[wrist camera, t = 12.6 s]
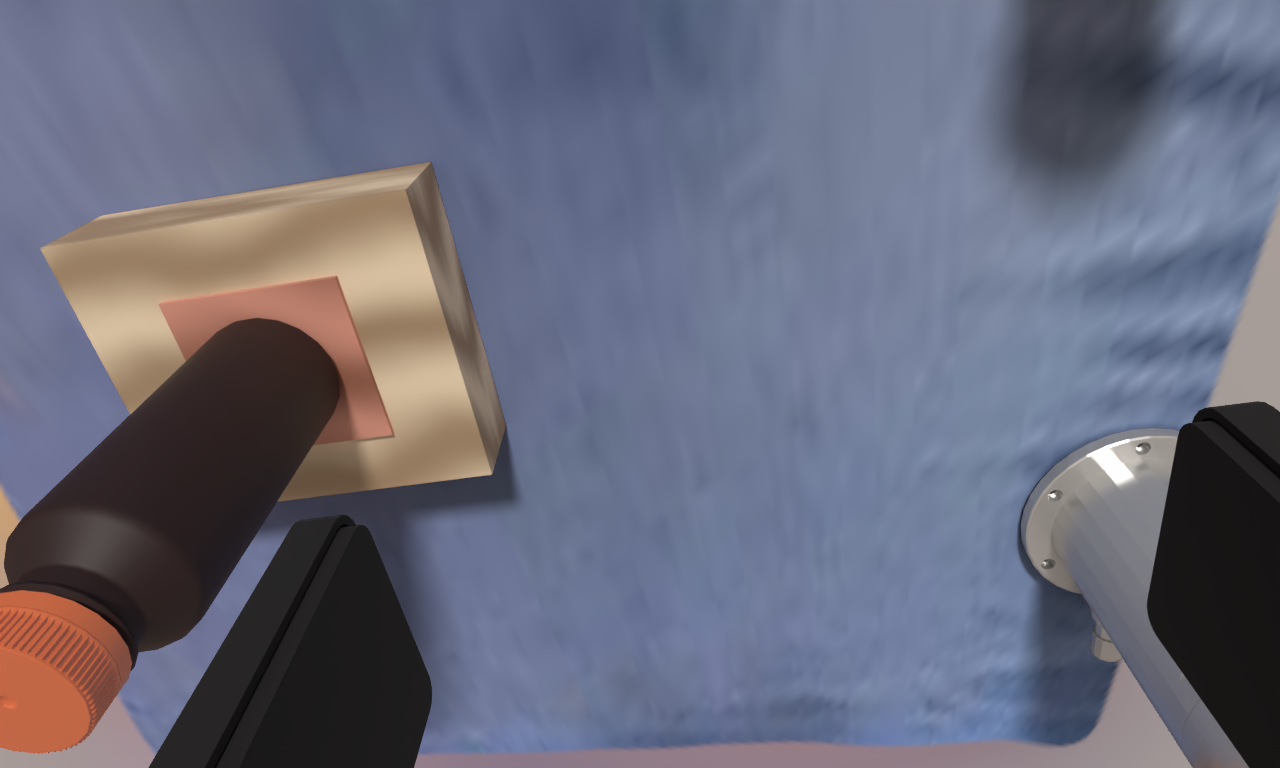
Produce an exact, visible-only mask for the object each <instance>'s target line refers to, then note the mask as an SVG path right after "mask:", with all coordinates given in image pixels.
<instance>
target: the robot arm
mask: <svg viewBox="0 0 1280 768" xmlns="http://www.w3.org/2000/svg"><path fill="white" fill-rule="evenodd" d="M1021 539H1022V542H1023V545H1024V548H1025V552H1026V553H1027V555H1028V557H1029V558H1030V560H1031V562H1032V564H1033V565H1034V567H1035V568H1036V569H1037V570H1038V571H1039V573H1040V574H1041V575H1042V576H1043V577H1044V578H1045V579H1047V580H1048V581H1050V582H1051V583H1053V584H1054V585H1055V586H1058V587H1060V588H1062V589H1065V590H1067V591H1069V592H1073V593H1078V594H1082V595H1083V597H1084V598H1085V600H1086V602H1087V603H1088V605H1089V606H1090V613H1091V616H1092V618H1093V619H1094V620H1095V625H1094V626H1093V632H1092V639H1091V646H1090V650H1091V652H1092V653H1093V655H1094V656H1096V657H1097V658H1099V659H1100V660H1103V661H1107V662H1116V661H1118V660H1121V658H1123V659H1124V661H1125V663H1126V664H1127V666H1128V667H1129V669H1130V670H1131V672H1132V673H1133V675H1134V677H1135V678H1136V680H1137V681H1138V683H1139V685H1140V686H1141V688H1142V689H1143V691H1144V692H1145V694H1146V695H1147V697H1148V699H1149V700H1150V702H1151V703H1152V705H1153V706H1154V708H1155V709H1156V711H1157V713H1158V714H1159V716H1160V717H1161V719H1162V720H1163V722H1164V724H1165V725H1166V727H1167V728H1168V730H1169V732H1170V733H1171V735H1172V736H1173V738H1174V739H1175V741H1176V743H1177V744H1178V746H1179V747H1180V749H1181V750H1182V752H1183V754H1184V755H1185V757H1186V758H1187V760H1188V761H1189V762H1190V764H1191V766H1192V767H1193V768H1280V412H1279V411H1278V410H1276V409H1275V408H1274V407H1272V406H1270V405H1268V404H1267V403H1265V402H1249V403H1241V404H1233V405H1225V406H1217V407H1209V408H1204V409H1202V410H1200V411H1198V413H1197V414H1196V415H1195V417H1194V419H1193V422H1192V423H1188V424H1185V425H1183V427H1182V428H1181V429H1180V431H1177V430H1173V429H1159V428H1147V429H1135V430H1129V431H1125V432H1120V433H1116V434H1112V435H1109V436H1106V437H1104V438H1101V439H1098V440H1096V441H1093V442H1091V443H1089V444H1087V445H1085V446H1083V447H1081V448H1080V449H1078V450H1076V451H1074V452H1072V453H1071V454H1069V455H1068V456H1067V457H1065V458H1064V459H1063V460H1061V461H1060V462H1059V463H1057V464H1056V465H1055V466H1054V467H1053V468H1052V469H1051V470H1050V471H1049V472H1048V473H1047V474H1046V475H1045V476H1044V477H1043V478H1042V479H1041V480H1040V482H1039V483H1038V485H1037V486H1036V487H1035V489H1034V490H1033V492H1032V493H1031V495H1030V497H1029V499H1028V501H1027V504H1026V506H1025V508H1024V511H1023V516H1022V521H1021ZM431 702H432V687H431V681H430V677H429V674H428V672H427V670H426V667H425V665H424V662H423V660H422V657H421V655H420V652H419V650H418V648H417V645H416V643H415V640H414V638H413V635H412V633H411V631H410V628H409V626H408V623H407V621H406V618H405V616H404V613H403V611H402V609H401V606H400V604H399V601H398V599H397V596H396V594H395V591H394V589H393V587H392V584H391V582H390V579H389V577H388V574H387V572H386V570H385V567H384V565H383V562H382V560H381V557H380V555H379V552H378V550H377V548H376V545H375V543H374V540H373V538H372V535H371V533H370V531H369V530H368V528H367V527H365V526H364V525H357V526H356V525H355V523H354V521H353V520H352V519H351V518H350V517H349V516H346V515H339V516H331V517H323V518H315V519H307V520H301V521H298V522H296V523H295V524H294V525H293V526H292V528H291V529H290V531H289V532H288V534H287V536H286V537H285V539H284V541H283V542H282V544H281V546H280V548H279V549H278V551H277V553H276V554H275V556H274V558H273V559H272V561H271V563H270V564H269V566H268V568H267V569H266V571H265V573H264V574H263V576H262V578H261V579H260V581H259V583H258V585H257V586H256V588H255V590H254V591H253V593H252V595H251V596H250V598H249V600H248V601H247V603H246V605H245V606H244V608H243V610H242V611H241V613H240V615H239V616H238V618H237V620H236V622H235V623H234V625H233V627H232V628H231V630H230V632H229V633H228V635H227V637H226V638H225V640H224V642H223V643H222V645H221V647H220V648H219V650H218V652H217V653H216V655H215V657H214V659H213V660H212V662H211V664H210V665H209V667H208V669H207V670H206V672H205V674H204V675H203V677H202V679H201V680H200V682H199V684H198V685H197V687H196V689H195V690H194V692H193V694H192V695H191V697H190V699H189V701H188V702H187V704H186V706H185V707H184V709H183V711H182V712H181V714H180V716H179V717H178V719H177V721H176V722H175V724H174V726H173V727H172V729H171V731H170V732H169V734H168V736H167V738H166V739H165V741H164V743H163V744H162V746H161V748H160V749H159V751H158V753H157V754H156V756H155V758H154V759H153V761H152V763H151V765H150V766H149V768H414V765H415V762H416V758H417V755H418V751H419V748H420V744H421V740H422V737H423V733H424V730H425V726H426V723H427V719H428V716H429V712H430V708H431Z"/></svg>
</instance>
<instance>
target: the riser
mask: <svg viewBox="0 0 1280 768" xmlns="http://www.w3.org/2000/svg"><path fill="white" fill-rule="evenodd" d="M40 249H41V251H42V253H43V254H44V256H45V258H46V260H47V262H48V264H49V265H50V267H51V269H52V271H53V273H54V275H55V276H56V278H57V280H58V282H59V284H60V286H61V288H62V289H63V291H64V293H65V295H66V297H67V299H68V300H69V302H70V304H71V306H72V308H73V310H74V311H75V313H76V315H77V317H78V319H79V321H80V323H81V324H82V326H83V328H84V330H85V332H86V334H87V335H88V337H89V339H90V341H91V343H92V345H93V347H94V348H95V350H96V352H97V354H98V356H99V358H100V359H101V361H102V363H103V365H104V367H105V369H106V370H107V372H108V374H109V376H110V378H111V380H112V382H113V383H114V385H115V387H116V389H117V391H118V393H119V394H120V396H121V398H122V400H123V402H124V404H125V405H126V407H127V409H128V411H129V413H130V414H131V413H133V412H134V411H135V410H136V409H137V408H138V407H139V406H140V405H141V404H142V403H143V402H144V401H145V400H146V399H147V398H148V397H149V396H150V395H151V394H152V393H153V392H154V391H156V390H157V389H158V388H159V387H160V386H161V385H162V384H163V383H164V382H165V381H166V380H167V379H168V378H169V377H170V376H171V375H172V374H173V373H174V372H175V371H176V370H177V369H178V368H180V367H181V366H182V365H183V364H184V363H185V362H186V361H187V360H188V359H189V358H190V357H191V356H192V355H193V354H194V353H195V352H196V351H197V350H198V349H199V348H200V347H201V346H203V345H204V344H205V343H206V342H207V341H208V340H209V339H210V338H211V337H212V336H213V335H214V334H215V333H216V332H217V331H219V330H221V329H222V328H224V327H226V326H228V325H229V324H231V323H233V322H235V321H240V320H246V319H252V318H263V319H271V320H279V321H281V322H284V323H286V324H289V325H291V326H294V327H296V328H299V329H300V330H302V331H303V332H305V333H306V334H307V335H309V336H310V337H312V338H313V339H314V340H316V341H317V342H318V343H319V344H320V345H321V347H322V348H323V349H324V350H325V351H326V353H327V354H328V355H329V356H330V358H331V359H332V362H333V364H334V366H335V369H336V371H337V373H338V376H339V390H340V396H339V400H338V402H337V405H336V408H335V411H334V413H333V415H332V417H331V418H330V420H329V421H328V423H327V424H326V426H325V428H324V429H323V431H322V432H321V434H320V435H319V437H318V438H317V440H316V442H315V443H314V445H313V446H312V448H311V449H310V451H309V452H308V454H307V456H306V457H305V459H304V460H303V462H302V463H301V465H300V467H299V468H298V470H297V471H296V473H295V474H294V476H293V477H292V479H291V481H290V482H289V484H288V485H287V487H286V488H285V490H284V492H283V493H282V495H281V496H280V498H279V499H278V501H277V502H280V501H288V500H296V499H304V498H311V497H319V496H327V495H335V494H343V493H351V492H359V491H367V490H375V489H383V488H390V487H398V486H406V485H414V484H422V483H430V482H438V481H446V480H454V479H462V478H470V477H477V476H485V475H492V473H493V470H494V467H495V463H496V460H497V456H498V453H499V449H500V446H501V442H502V439H503V435H504V432H505V428H506V423H505V420H504V416H503V413H502V409H501V406H500V402H499V399H498V395H497V392H496V388H495V385H494V381H493V377H492V374H491V370H490V367H489V363H488V360H487V356H486V353H485V349H484V346H483V342H482V339H481V335H480V332H479V328H478V325H477V321H476V318H475V314H474V311H473V307H472V304H471V300H470V297H469V293H468V290H467V286H466V282H465V279H464V275H463V272H462V268H461V265H460V261H459V258H458V254H457V251H456V247H455V244H454V240H453V237H452V233H451V230H450V226H449V223H448V219H447V216H446V212H445V209H444V205H443V202H442V198H441V194H440V191H439V187H438V184H437V180H436V177H435V173H434V170H433V166H432V163H431V162H428V163H422V164H415V165H409V166H403V167H397V168H391V169H385V170H379V171H372V172H366V173H360V174H354V175H348V176H342V177H336V178H329V179H323V180H317V181H311V182H305V183H299V184H292V185H286V186H280V187H274V188H268V189H262V190H256V191H249V192H243V193H237V194H231V195H225V196H219V197H212V198H206V199H200V200H194V201H188V202H182V203H176V204H169V205H163V206H157V207H151V208H145V209H139V210H133V211H126V212H120V213H114V214H108V215H102V216H100V217H98V218H96V219H94V220H92V221H91V222H89V223H87V224H85V225H83V226H81V227H79V228H77V229H76V230H74V231H72V232H70V233H68V234H66V235H64V236H63V237H61V238H59V239H57V240H55V241H53V242H51V243H49V244H48V245H46V246H44V247H42V248H40Z"/></svg>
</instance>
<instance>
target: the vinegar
mask: <svg viewBox="0 0 1280 768" xmlns="http://www.w3.org/2000/svg"><path fill="white" fill-rule="evenodd" d="M339 396H340V390H339V376H338V373H337V371H336V369H335V366H334V364H333V362H332V359H331V358H330V356H329V355H328V354H327V353H326V351H325V350H324V349H323V348H322V347H321V345H320V344H319V343H318V342H317V341H316V340H314V339H313V338H312V337H310V336H309V335H307V334H306V333H305V332H303V331H302V330H300V329H299V328H296V327H294V326H291V325H289V324H286V323H284V322H281V321H279V320H271V319H263V318H252V319H246V320H240V321H235V322H233V323H231V324H229V325H228V326H226V327H224V328H222V329H221V330H219V331H217V332H216V333H215V334H214V335H213V336H212V337H211V338H210V339H209V340H208V341H207V342H206V343H205V344H204V345H203V346H201V347H200V348H199V349H198V350H197V351H196V352H195V353H194V354H193V355H192V356H191V357H190V358H189V359H188V360H187V361H186V362H185V363H184V364H183V365H182V366H181V367H180V368H178V369H177V370H176V371H175V372H174V373H173V374H172V375H171V376H170V377H169V378H168V379H167V380H166V381H165V382H164V383H163V384H162V385H161V386H160V387H159V388H158V389H157V390H156V391H154V392H153V393H152V394H151V395H150V396H149V397H148V398H147V399H146V400H145V401H144V402H143V403H142V404H141V405H140V406H139V407H138V408H137V409H136V410H135V411H134V412H133V413H131V414H130V415H129V416H128V417H127V418H126V419H125V420H124V421H123V422H122V423H121V424H120V425H119V426H118V427H117V428H116V429H115V430H114V431H113V432H112V433H111V434H110V435H109V436H107V437H106V438H105V439H104V440H103V441H102V442H101V443H100V444H99V445H98V446H97V447H96V448H95V449H94V450H93V451H92V452H91V453H90V454H89V455H88V456H87V457H86V458H85V459H83V460H82V461H81V462H80V463H79V464H78V465H77V466H76V467H75V468H74V469H73V470H72V471H71V472H70V473H69V474H68V475H67V476H66V477H65V478H64V479H63V480H62V481H60V482H59V483H58V484H57V485H56V486H55V487H54V488H53V489H52V490H51V491H50V492H49V493H48V494H47V495H46V496H45V497H44V498H43V499H42V500H41V501H40V502H39V503H38V504H36V505H35V506H34V507H33V508H32V509H31V510H30V511H29V512H28V513H27V514H26V515H25V516H24V517H23V518H22V520H21V521H20V522H19V524H18V525H17V527H16V528H15V529H14V531H13V532H12V533H11V535H10V536H9V538H8V540H7V543H6V552H5V560H4V569H5V572H6V575H7V579H8V582H9V585H7V586H5V587H3V588H1V589H0V747H1V748H5V749H9V750H13V751H19V752H28V753H29V752H30V753H46V752H48V753H49V752H56V751H61V750H63V749H66V750H67V748H68V747H70V748H72V747H73V745H75V746H76V745H77V744H78V743H81V742H82V740H85V739H86V737H88V736H89V734H90V733H91V732H92V730H93V729H94V727H95V726H96V725H97V723H98V721H99V720H100V719H101V717H102V715H103V714H104V713H105V711H106V710H107V709H108V707H109V706H110V704H111V703H112V701H113V700H114V698H115V697H116V696H117V694H118V693H119V691H120V690H121V688H122V687H123V685H124V684H125V683H126V681H127V680H128V678H129V674H130V671H131V670H132V669H133V668H134V667H135V664H136V660H137V656H138V652H144V651H150V650H156V649H159V648H162V647H164V646H166V645H169V644H171V643H173V642H175V641H177V640H180V639H182V638H183V637H185V636H186V635H187V634H188V633H189V632H190V631H191V630H192V629H193V628H194V626H195V625H196V624H197V623H198V622H199V621H200V620H201V619H202V618H203V616H204V615H205V613H206V612H207V610H208V609H209V607H210V605H211V604H212V602H213V601H214V599H215V598H216V596H217V595H218V593H219V591H220V590H221V588H222V587H223V585H224V584H225V582H226V581H227V579H228V577H229V576H230V574H231V573H232V571H233V570H234V568H235V566H236V565H237V563H238V562H239V560H240V559H241V557H242V556H243V554H244V552H245V551H246V549H247V548H248V546H249V545H250V543H251V541H252V540H253V538H254V537H255V535H256V534H257V532H258V531H259V529H260V527H261V526H262V524H263V523H264V521H265V520H266V518H267V516H268V515H269V513H270V512H271V510H272V509H273V507H274V506H275V504H276V502H277V501H278V499H279V498H280V496H281V495H282V493H283V492H284V490H285V488H286V487H287V485H288V484H289V482H290V481H291V479H292V477H293V476H294V474H295V473H296V471H297V470H298V468H299V467H300V465H301V463H302V462H303V460H304V459H305V457H306V456H307V454H308V452H309V451H310V449H311V448H312V446H313V445H314V443H315V442H316V440H317V438H318V437H319V435H320V434H321V432H322V431H323V429H324V428H325V426H326V424H327V423H328V421H329V420H330V418H331V417H332V415H333V413H334V411H335V408H336V405H337V402H338V400H339Z"/></svg>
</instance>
